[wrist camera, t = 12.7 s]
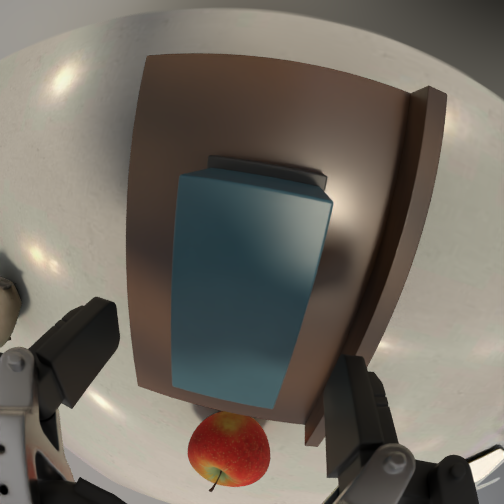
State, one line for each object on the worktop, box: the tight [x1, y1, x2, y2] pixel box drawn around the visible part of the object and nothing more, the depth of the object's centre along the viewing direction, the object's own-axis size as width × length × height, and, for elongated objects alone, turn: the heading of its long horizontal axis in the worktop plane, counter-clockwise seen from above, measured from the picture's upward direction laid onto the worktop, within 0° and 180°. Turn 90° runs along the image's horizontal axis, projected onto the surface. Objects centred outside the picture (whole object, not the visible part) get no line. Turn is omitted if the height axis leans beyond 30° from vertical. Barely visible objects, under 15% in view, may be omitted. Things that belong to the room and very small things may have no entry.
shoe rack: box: [126, 53, 447, 447], centre depth 16 cm, size 22×14×8 cm, turn 171°
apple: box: [188, 411, 270, 492], centre depth 22 cm, size 8×8×10 cm
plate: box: [468, 448, 504, 483], centre depth 32 cm, size 28×28×2 cm
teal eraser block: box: [171, 155, 333, 409], centre depth 12 cm, size 12×5×5 cm, turn 171°
